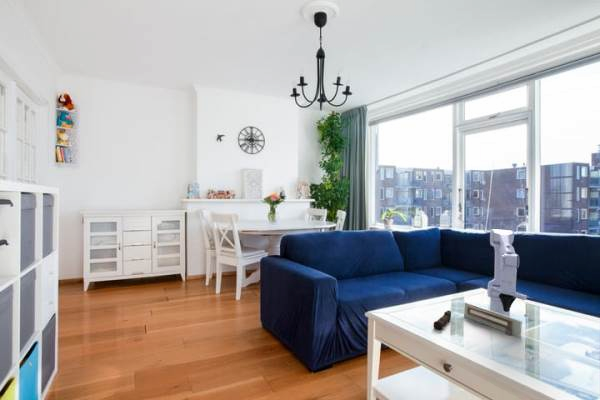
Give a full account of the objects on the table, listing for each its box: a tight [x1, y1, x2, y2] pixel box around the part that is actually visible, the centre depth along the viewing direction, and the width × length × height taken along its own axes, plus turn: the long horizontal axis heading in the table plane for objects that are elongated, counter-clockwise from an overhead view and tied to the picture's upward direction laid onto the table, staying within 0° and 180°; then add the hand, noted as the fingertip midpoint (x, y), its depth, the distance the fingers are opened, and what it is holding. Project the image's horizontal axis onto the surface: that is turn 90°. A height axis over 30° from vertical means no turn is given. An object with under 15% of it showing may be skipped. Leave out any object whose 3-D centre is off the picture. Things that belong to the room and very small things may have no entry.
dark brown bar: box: [433, 310, 452, 331], centre depth 156 cm, size 19×4×5 cm, turn 138°
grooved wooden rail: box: [467, 306, 512, 330], centre depth 155 cm, size 1×20×4 cm, turn 30°
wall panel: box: [463, 301, 523, 338], centre depth 155 cm, size 4×26×7 cm, turn 30°
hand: (506, 311), depth 148 cm, fingers closed
